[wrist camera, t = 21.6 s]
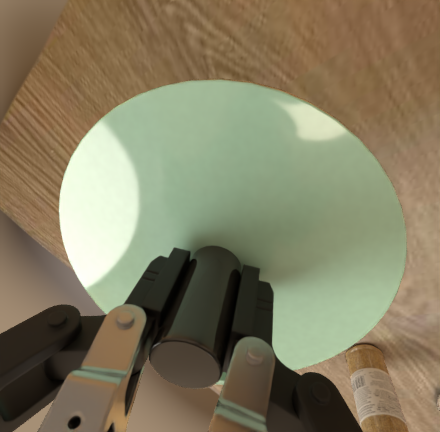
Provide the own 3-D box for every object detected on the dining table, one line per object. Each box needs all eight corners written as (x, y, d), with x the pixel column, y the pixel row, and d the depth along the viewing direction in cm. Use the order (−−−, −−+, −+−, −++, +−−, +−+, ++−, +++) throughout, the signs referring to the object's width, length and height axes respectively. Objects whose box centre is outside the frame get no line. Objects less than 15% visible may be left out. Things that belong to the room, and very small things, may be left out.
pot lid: (55, 43, 11) (-154, 30, 6) (479, 122, 10) (719, 201, 4) (86, 318, 19) (9, 420, 14) (325, 383, 18) (344, 525, 12)
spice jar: (362, 370, 39) (397, 504, 27) (336, 353, 38) (361, 483, 26) (391, 355, 36) (443, 495, 25) (365, 336, 36) (405, 471, 24)
